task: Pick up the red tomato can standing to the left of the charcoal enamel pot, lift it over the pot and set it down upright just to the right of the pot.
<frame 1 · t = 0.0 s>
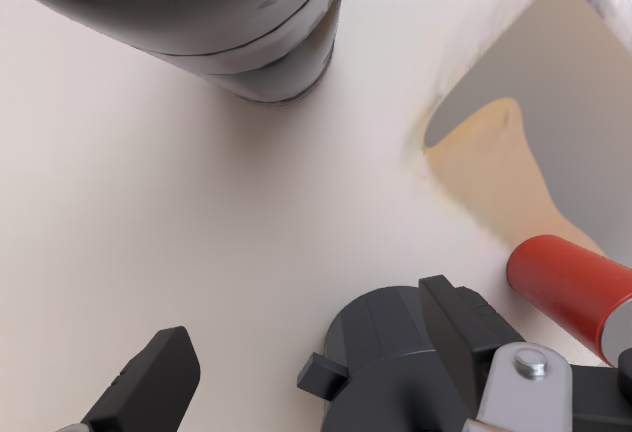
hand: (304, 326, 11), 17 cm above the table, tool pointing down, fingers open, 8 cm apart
pot: (395, 351, 31), on the table
tomato can: (540, 266, 29), on the table
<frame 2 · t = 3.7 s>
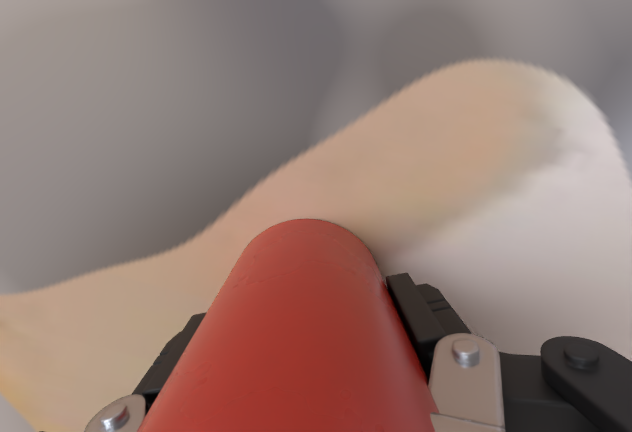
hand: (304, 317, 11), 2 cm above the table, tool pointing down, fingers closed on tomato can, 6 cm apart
tomato can: (306, 288, 13), on the table, touching gripper
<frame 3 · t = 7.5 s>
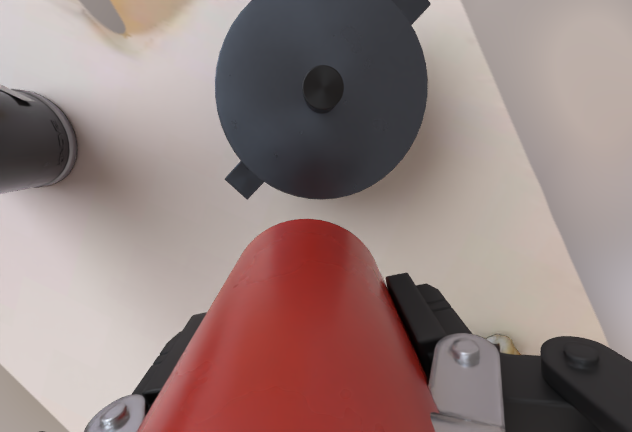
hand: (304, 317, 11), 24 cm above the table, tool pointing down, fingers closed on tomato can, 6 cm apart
pot: (319, 105, 32), on the table
pastry: (489, 361, 40), on the table
tomato can: (306, 288, 13), point 22 cm above the table, touching gripper
pot lid: (321, 96, 23), point 9 cm above the table, touching pot
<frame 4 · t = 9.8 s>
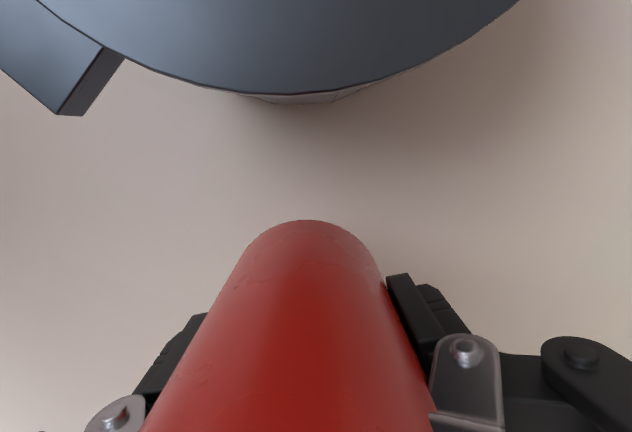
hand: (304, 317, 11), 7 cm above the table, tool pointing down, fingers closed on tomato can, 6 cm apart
tomato can: (307, 289, 13), point 5 cm above the table, touching gripper
when the fingers open (2 cm above the table, at t = 11.5 s): tomato can stays where it is, on the table.
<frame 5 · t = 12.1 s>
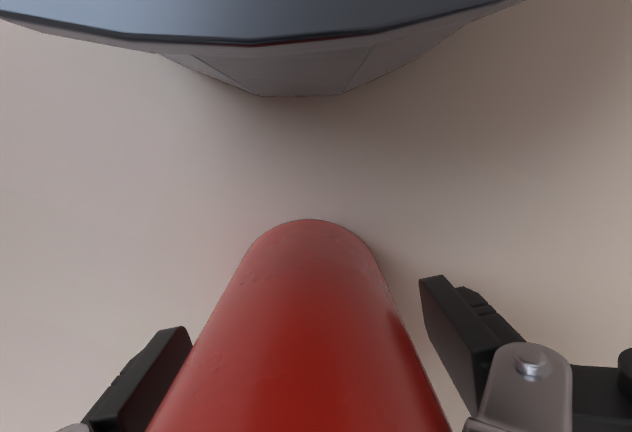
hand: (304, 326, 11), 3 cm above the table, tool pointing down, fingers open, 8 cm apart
tomato can: (309, 287, 14), on the table
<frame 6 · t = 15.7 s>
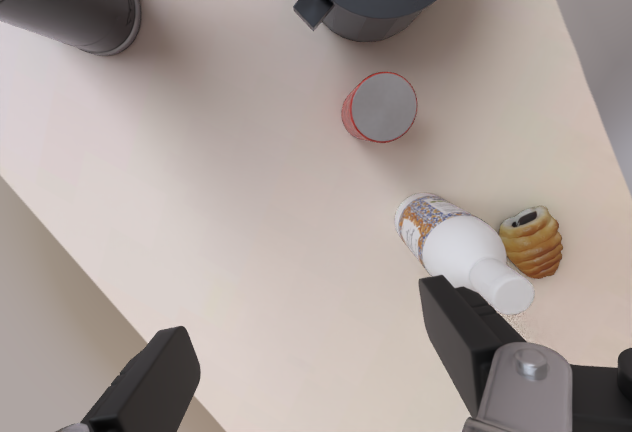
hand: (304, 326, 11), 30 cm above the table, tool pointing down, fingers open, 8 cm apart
pastry: (524, 237, 42), on the table
tomato can: (366, 113, 38), on the table
bath foam: (420, 218, 41), on the table
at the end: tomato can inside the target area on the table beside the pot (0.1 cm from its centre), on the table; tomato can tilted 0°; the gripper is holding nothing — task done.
